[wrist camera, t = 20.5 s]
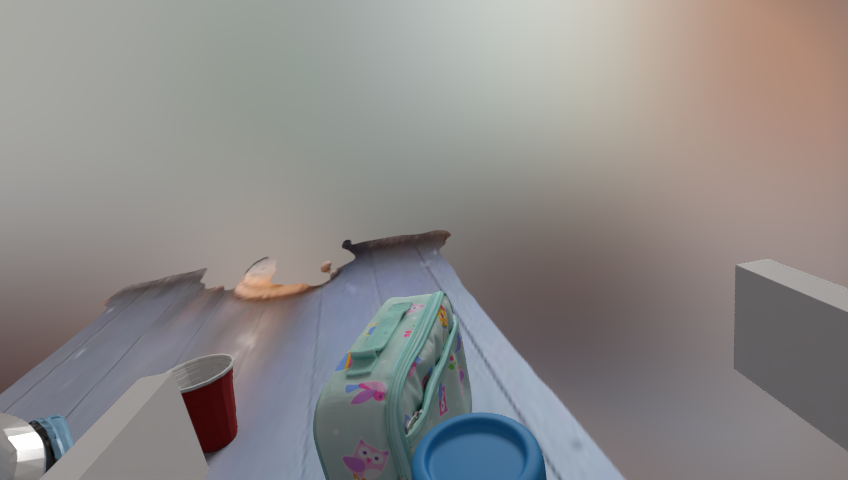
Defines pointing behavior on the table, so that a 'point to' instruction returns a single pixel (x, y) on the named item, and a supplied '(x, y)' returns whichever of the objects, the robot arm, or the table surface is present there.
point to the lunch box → (392, 390)
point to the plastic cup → (209, 398)
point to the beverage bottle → (478, 450)
